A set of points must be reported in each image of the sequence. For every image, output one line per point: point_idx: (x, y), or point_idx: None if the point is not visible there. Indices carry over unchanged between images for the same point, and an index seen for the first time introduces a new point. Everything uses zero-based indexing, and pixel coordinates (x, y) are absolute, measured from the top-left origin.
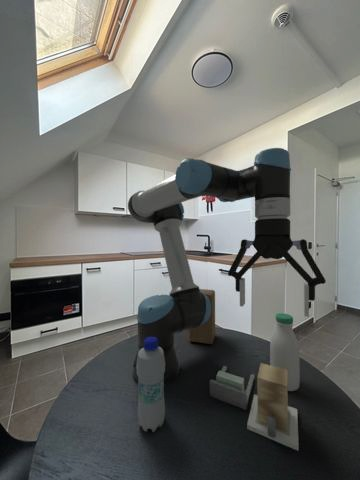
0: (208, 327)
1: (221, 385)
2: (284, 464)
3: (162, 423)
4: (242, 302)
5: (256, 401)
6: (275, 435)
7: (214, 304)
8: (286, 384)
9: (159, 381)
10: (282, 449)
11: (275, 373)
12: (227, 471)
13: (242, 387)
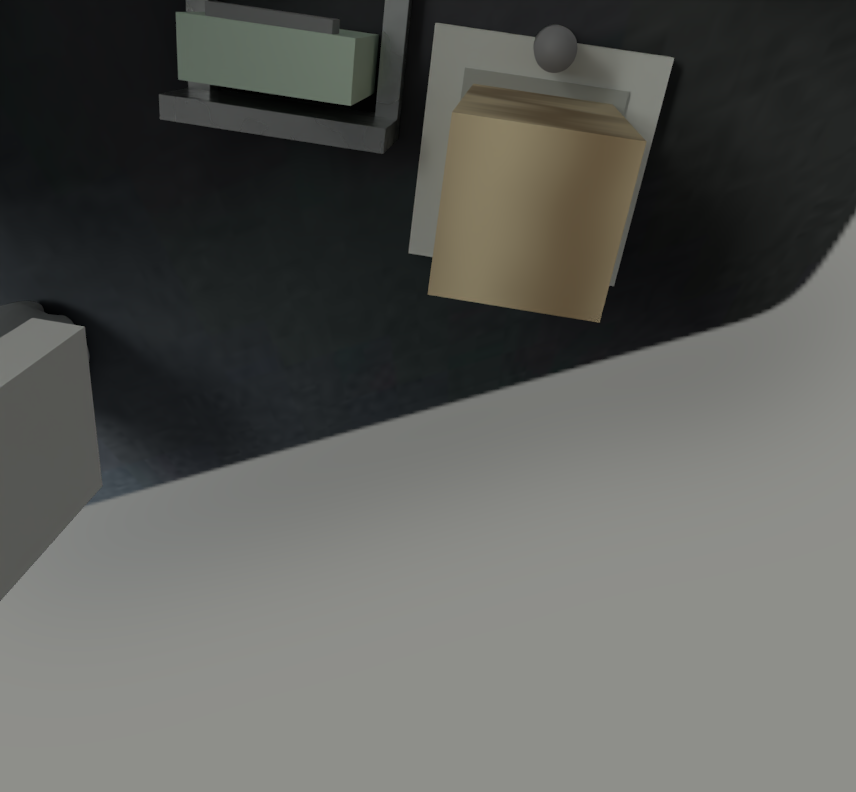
0: None
1: (235, 128)
2: (546, 344)
3: (88, 358)
4: (60, 527)
5: (448, 84)
6: None
7: None
8: (600, 308)
9: None
10: None
11: (548, 215)
12: (362, 418)
13: (357, 93)
